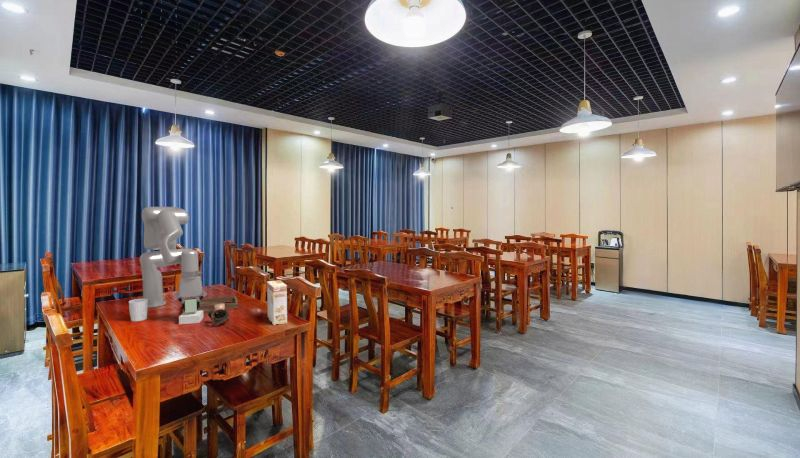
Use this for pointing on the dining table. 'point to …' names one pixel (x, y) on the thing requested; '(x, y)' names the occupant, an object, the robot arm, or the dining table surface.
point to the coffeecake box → (277, 302)
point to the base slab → (191, 317)
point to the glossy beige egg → (219, 306)
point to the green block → (190, 305)
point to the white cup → (138, 309)
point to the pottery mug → (218, 316)
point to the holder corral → (216, 301)
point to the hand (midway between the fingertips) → (191, 309)
